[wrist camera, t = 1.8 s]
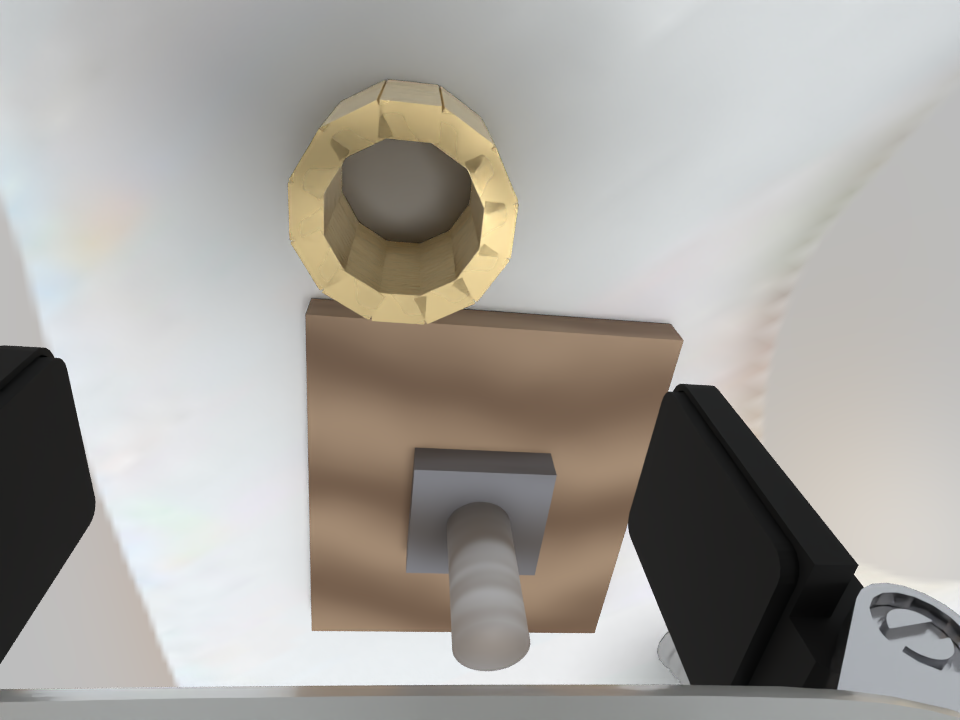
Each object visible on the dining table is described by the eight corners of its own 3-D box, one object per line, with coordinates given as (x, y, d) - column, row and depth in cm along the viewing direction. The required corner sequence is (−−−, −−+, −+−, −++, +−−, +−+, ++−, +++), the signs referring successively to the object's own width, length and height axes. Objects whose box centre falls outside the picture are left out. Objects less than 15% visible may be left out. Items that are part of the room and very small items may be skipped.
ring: (312, 70, 21) (284, 89, 17) (509, 93, 22) (531, 116, 18) (314, 259, 25) (291, 315, 20) (487, 273, 25) (500, 329, 21)
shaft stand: (311, 298, 25) (262, 431, 18) (670, 324, 27) (771, 455, 19) (316, 606, 34) (284, 787, 26) (588, 610, 36) (634, 779, 28)
